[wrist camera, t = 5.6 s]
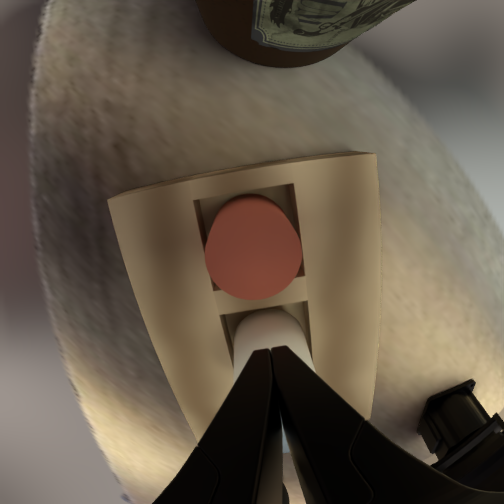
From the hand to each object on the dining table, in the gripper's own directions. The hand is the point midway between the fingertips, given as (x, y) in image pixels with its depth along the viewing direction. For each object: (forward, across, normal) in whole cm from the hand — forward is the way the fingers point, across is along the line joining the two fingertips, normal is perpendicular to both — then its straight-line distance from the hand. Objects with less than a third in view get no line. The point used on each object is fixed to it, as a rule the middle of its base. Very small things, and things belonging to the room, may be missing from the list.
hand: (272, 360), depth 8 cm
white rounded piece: (+9, 0, +6) cm, 11 cm away
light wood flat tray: (+12, 0, +6) cm, 13 cm away
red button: (+10, 0, 0) cm, 10 cm away
